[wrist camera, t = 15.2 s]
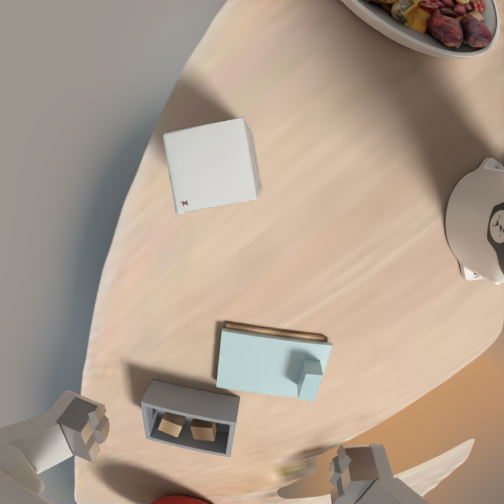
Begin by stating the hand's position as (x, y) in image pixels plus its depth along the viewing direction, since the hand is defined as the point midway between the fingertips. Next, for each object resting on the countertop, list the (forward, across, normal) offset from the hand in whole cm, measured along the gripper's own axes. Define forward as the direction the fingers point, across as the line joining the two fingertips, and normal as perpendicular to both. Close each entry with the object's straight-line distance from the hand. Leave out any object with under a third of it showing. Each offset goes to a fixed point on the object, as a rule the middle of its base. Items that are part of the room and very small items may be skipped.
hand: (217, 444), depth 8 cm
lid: (+30, -4, +19) cm, 36 cm away
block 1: (+30, +10, +32) cm, 46 cm away
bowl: (+32, -17, -43) cm, 56 cm away
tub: (+31, +7, +32) cm, 45 cm away
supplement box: (+31, +5, -8) cm, 33 cm away
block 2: (+30, +4, +32) cm, 44 cm away
